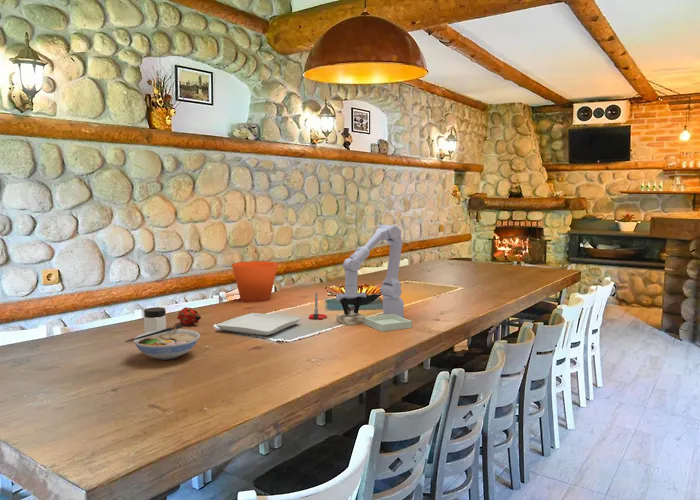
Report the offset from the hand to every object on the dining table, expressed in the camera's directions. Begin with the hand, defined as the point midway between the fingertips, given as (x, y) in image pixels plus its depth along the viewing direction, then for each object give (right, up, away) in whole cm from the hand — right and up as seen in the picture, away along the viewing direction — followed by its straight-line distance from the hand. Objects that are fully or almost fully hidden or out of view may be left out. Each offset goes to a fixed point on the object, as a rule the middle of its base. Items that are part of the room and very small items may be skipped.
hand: (351, 313), depth 250 cm
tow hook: (-16, -3, +9) cm, 18 cm away
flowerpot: (-53, +2, +52) cm, 74 cm away
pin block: (0, -4, 0) cm, 4 cm away
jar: (-79, -7, -29) cm, 85 cm away
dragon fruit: (-72, -4, -6) cm, 73 cm away
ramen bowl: (-66, -9, -54) cm, 86 cm away
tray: (+16, -5, -7) cm, 18 cm away
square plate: (-40, -5, -12) cm, 42 cm away
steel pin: (0, -4, 0) cm, 4 cm away
